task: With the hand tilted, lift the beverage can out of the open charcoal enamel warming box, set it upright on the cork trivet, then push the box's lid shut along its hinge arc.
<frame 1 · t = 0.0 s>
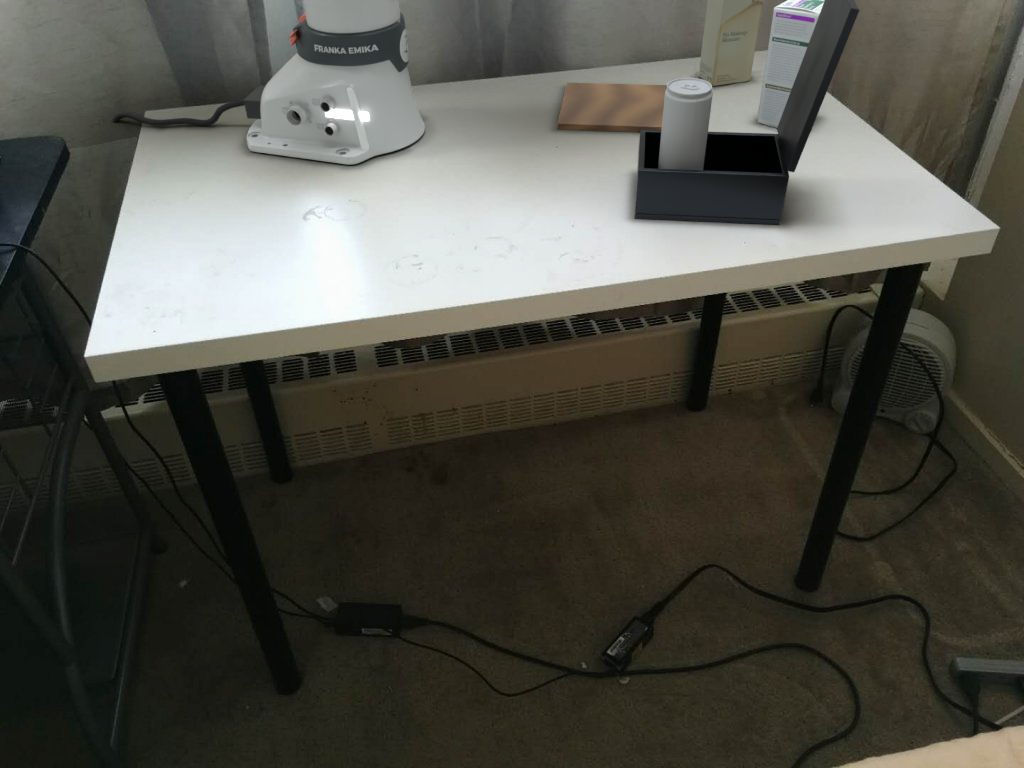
black open box: (704, 198, 95), on the table
beverage can: (677, 194, 95), resting on black open box
trivet: (614, 109, 115), on the table
warmer lid: (813, 75, 85), point 14 cm above the table, hinge at 100.0°
syrup box: (785, 122, 111), on the table
cosmetic box: (724, 80, 122), on the table
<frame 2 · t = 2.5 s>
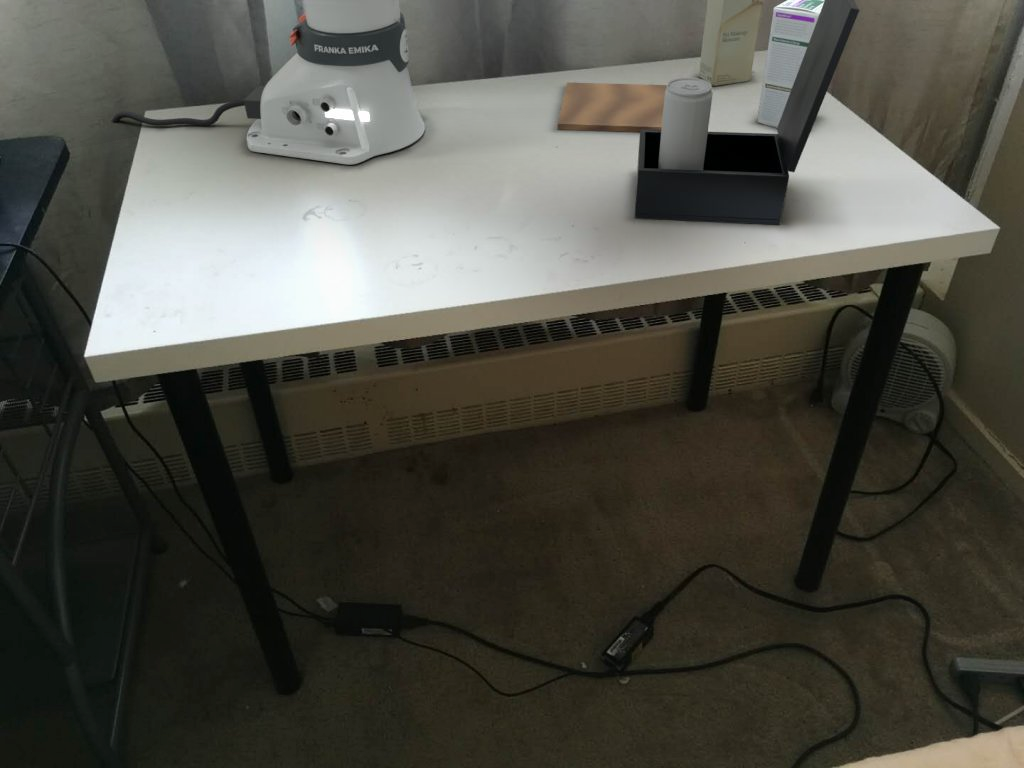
nothing on the table moved.
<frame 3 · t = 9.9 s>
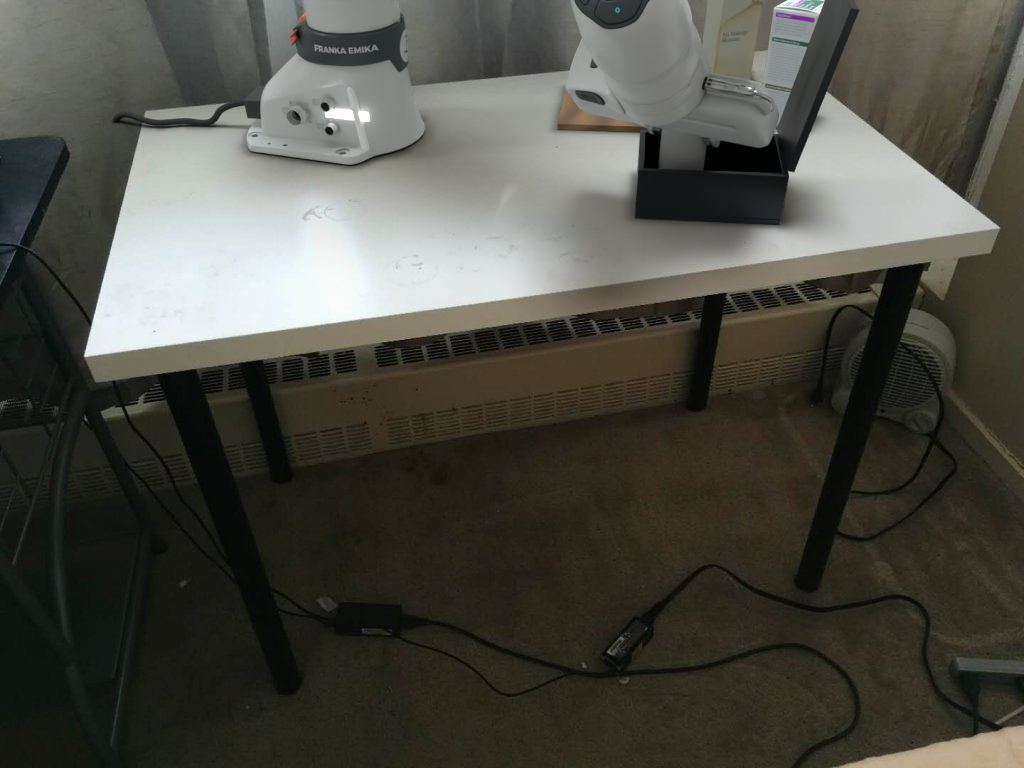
hand: (686, 134, 91), 7 cm above the table, tool tilted 45°, fingers closed on beverage can, 5 cm apart
beverage can: (677, 194, 95), resting on black open box, touching gripper
everything else where it was.
when the fingers open (7 cm above the table, at t = 18.9 s): beverage can stays where it is, resting on trivet.
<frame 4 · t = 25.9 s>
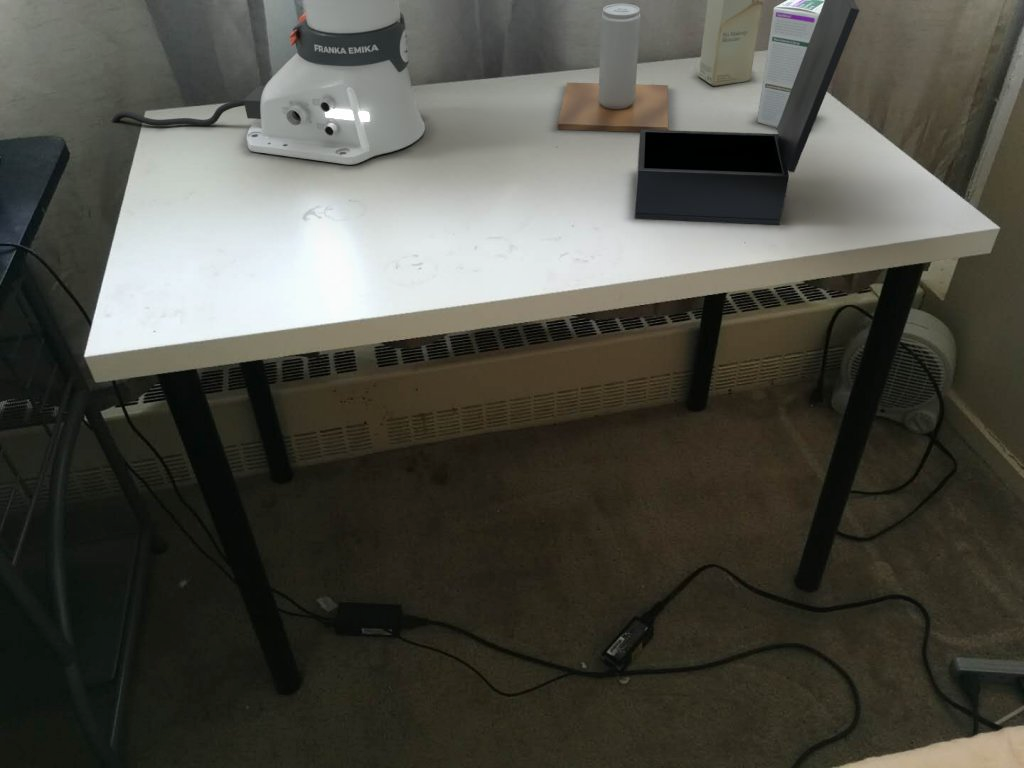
beverage can: (616, 105, 114), point 1 cm above the table, touching trivet
everything else where it was.
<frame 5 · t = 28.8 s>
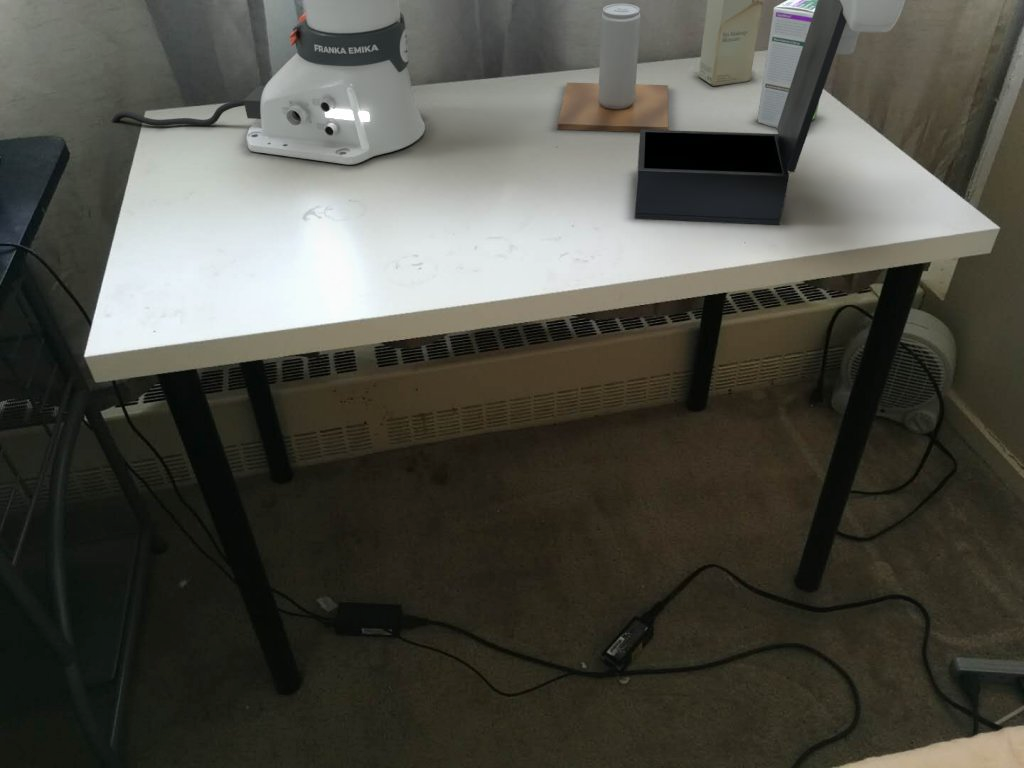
hand: (841, 49, 83), 17 cm above the table, tool pointing down, fingers closed, pressing on warmer lid
warmer lid: (809, 75, 85), point 14 cm above the table, hinge at 97.2°, touching gripper
everything else where it was.
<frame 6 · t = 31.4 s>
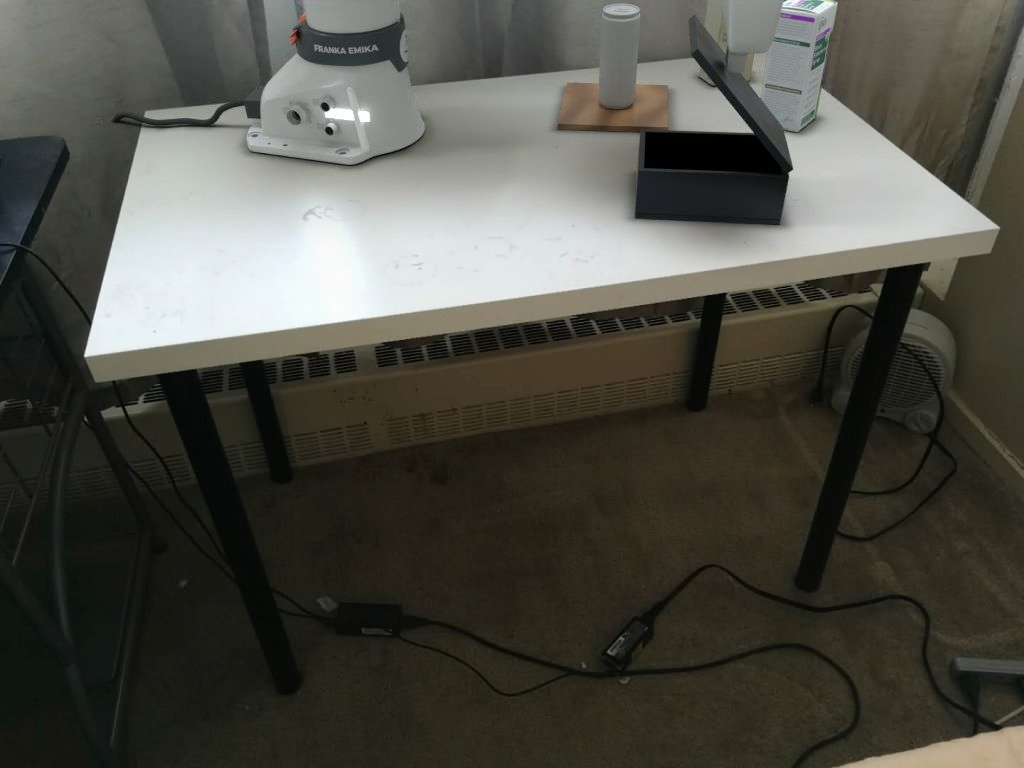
hand: (734, 67, 86), 15 cm above the table, tool pointing down, fingers closed, pressing on warmer lid
warmer lid: (740, 93, 87), point 12 cm above the table, hinge at 47.2°, touching gripper
everything else where it was.
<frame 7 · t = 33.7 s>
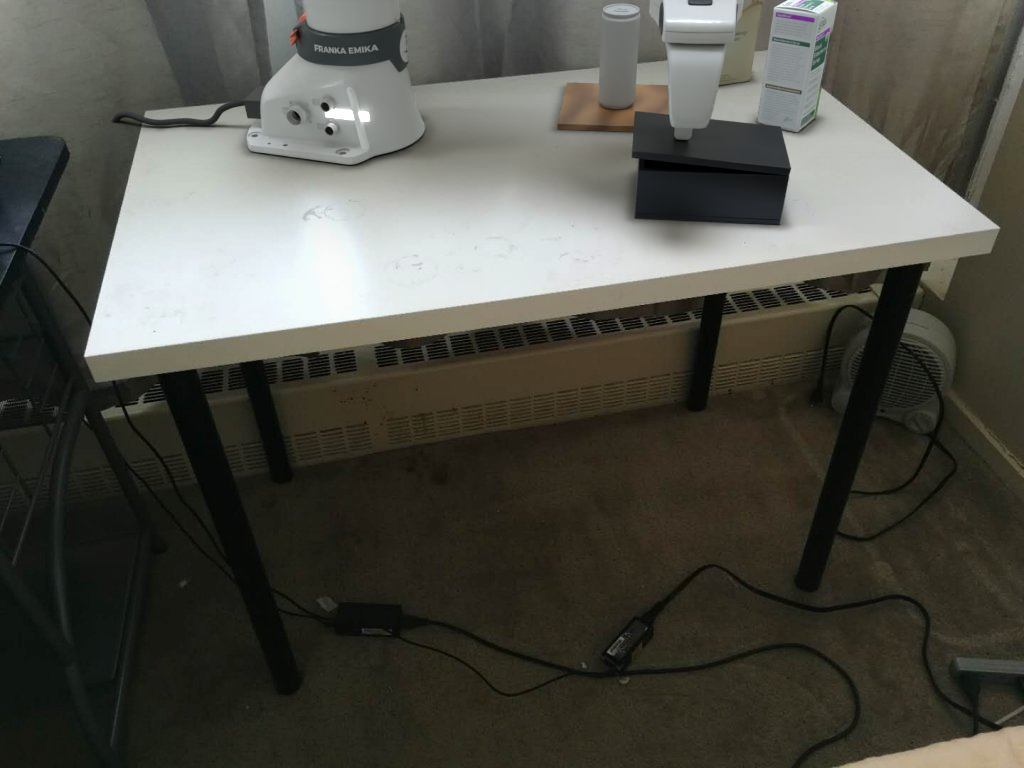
hand: (682, 134, 91), 7 cm above the table, tool pointing down, fingers closed, pressing on warmer lid
warmer lid: (708, 141, 91), point 7 cm above the table, hinge at 4.5°, touching gripper
everything else where it was.
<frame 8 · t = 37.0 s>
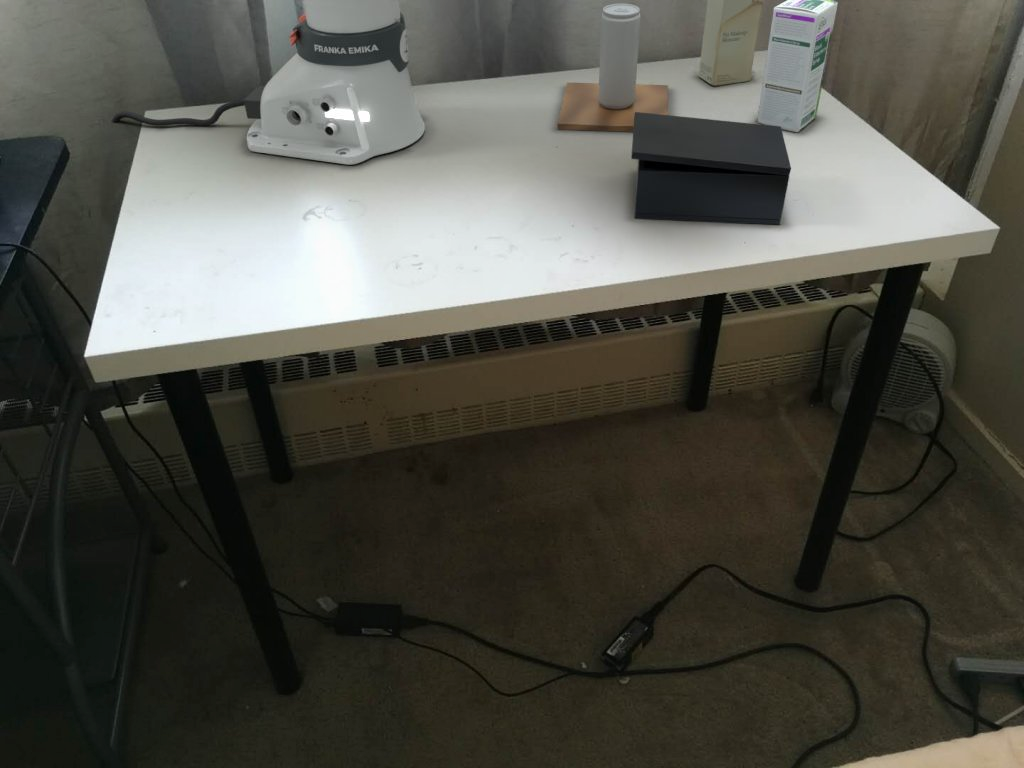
warmer lid: (708, 142, 91), point 7 cm above the table, hinge at 4.1°
everything else where it was.
at the end: beverage can inside the target area on the trivet (0.2 cm from its centre), point 0.6 cm above the trivet's base; beverage can tilted 0°; warmer lid at +4° (first picture: +100°) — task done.
